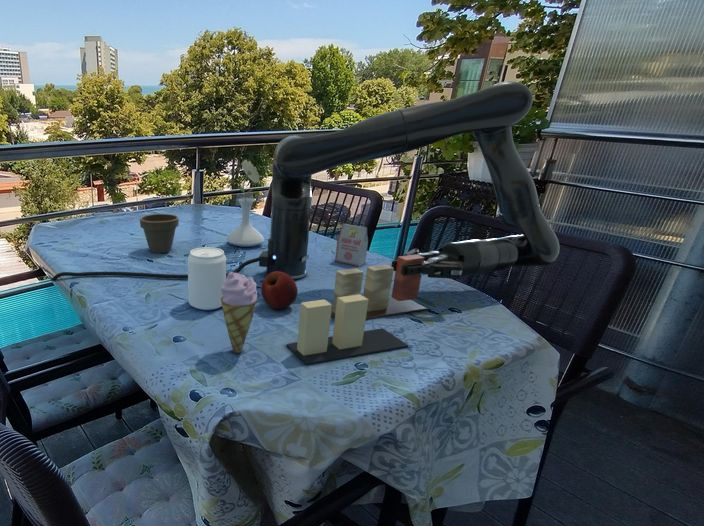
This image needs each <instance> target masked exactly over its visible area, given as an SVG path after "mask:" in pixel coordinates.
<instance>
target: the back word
mask: <svg viewBox="0 0 704 526" xmlns="http://www.w3.org/2000/svg"><path fill="white" fill-rule="evenodd" d="M394 272H395V271H394V268H393V267H391V265H388V264H378V265H370V266H366V271H365V280H364V287H363V292H362V291H361V290H362V284H363V277H364V271H363V270H361V269H358V268H357V267H356V268H347V269H339V270H336V272H335V281H334V288H333V289H334V290H333V297H332V309H331V318H333V319H335V314H336V305H337V297H344V296H351V295H358V294H360V295H361V293H363V294H362V296H364V297H366V298H367V299H369V300H368V307H367V314H366V320H373V319H378V318H379V319H380V318H384V317H392V316H397V315H404V314H410V313H416V312H423V311H427V310H428V307H426V306H424V305H421V304H420V303H417V302H416V301H414V300H413V299H410V300H404V301H398V300H396V299H394V298H392V297H390V294H391V288H392V282H393V277H394V276H393V275H394Z"/></svg>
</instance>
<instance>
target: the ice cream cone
mask: <svg viewBox="0 0 704 526" xmlns="http://www.w3.org/2000/svg"><path fill="white" fill-rule="evenodd" d="M228 273H229V274H228V276H226V281H225V283H224V285H223V286H222V287H221V291H222V295H223V296H222V297H221V303H222V306H221V307H222V314H223V319H224V323H225V327H226V330H227V334H228V337H229V341H230V345H231V348H232V352H233V353H235V354H240V353H241V352H242V350H243V348H244V345H245V342H246V339H247V336H248V333H249V330H250V327H251V324H252V321H253V317H254V313H255V307H256V304H257V300H258V293H257V282H255V280H254V278H253V277H247V276H246V275H244V274H240V273H233V271H230V272H228Z"/></svg>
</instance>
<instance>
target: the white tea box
mask: <svg viewBox="0 0 704 526" xmlns="http://www.w3.org/2000/svg"><path fill="white" fill-rule="evenodd" d="M368 246H369V236H368V227H366V226H359V225H353V224H347V223H341V227H340V230H339V233H338V237H337V239H336V248H335V257H334V261H335V262H338V263H342V264H346V265H351V266H355V267H361V266H362V265H364V264H366V260H367V253H368Z"/></svg>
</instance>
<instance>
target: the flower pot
mask: <svg viewBox="0 0 704 526" xmlns="http://www.w3.org/2000/svg"><path fill="white" fill-rule="evenodd" d="M179 219H180V217H179V216H178V215H175V214H169V213H154V214H146V215H143V216H141V217H139V225H140V228H142V229H143V232H144V235H145V239H146V243H147V247H148V250H149V251H150V252H151V253H154V254H164V253H165V254H166V253H169V252H171V250H172V248H173V243H174V239H175V233H176V229H177V227H179V225H180V223H179Z"/></svg>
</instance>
